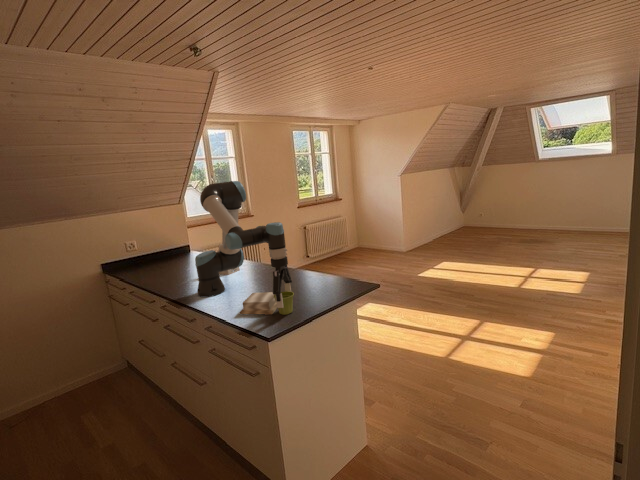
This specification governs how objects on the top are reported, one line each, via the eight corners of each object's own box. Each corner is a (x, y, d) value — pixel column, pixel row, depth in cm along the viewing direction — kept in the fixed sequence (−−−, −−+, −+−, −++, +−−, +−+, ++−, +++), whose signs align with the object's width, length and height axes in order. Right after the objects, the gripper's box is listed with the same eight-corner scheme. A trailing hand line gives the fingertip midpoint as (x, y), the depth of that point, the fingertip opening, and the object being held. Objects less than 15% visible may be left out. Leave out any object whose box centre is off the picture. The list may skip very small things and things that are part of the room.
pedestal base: (240, 314, 170) (238, 303, 169) (252, 302, 186) (251, 291, 185) (272, 314, 167) (270, 303, 166) (282, 301, 182) (281, 290, 181)
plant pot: (276, 309, 172) (273, 292, 170) (295, 307, 173) (293, 290, 171) (275, 317, 163) (272, 299, 161) (296, 315, 163) (294, 296, 162)
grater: (239, 270, 250) (235, 242, 246) (228, 274, 242) (224, 245, 238) (229, 269, 256) (224, 241, 252) (217, 273, 247) (213, 245, 243)
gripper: (278, 264, 150) (284, 312, 154) (294, 250, 174) (299, 292, 178) (261, 265, 151) (268, 312, 155) (279, 251, 175) (284, 292, 179)
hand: (284, 301), depth 167 cm, fingers open, 13 cm apart
